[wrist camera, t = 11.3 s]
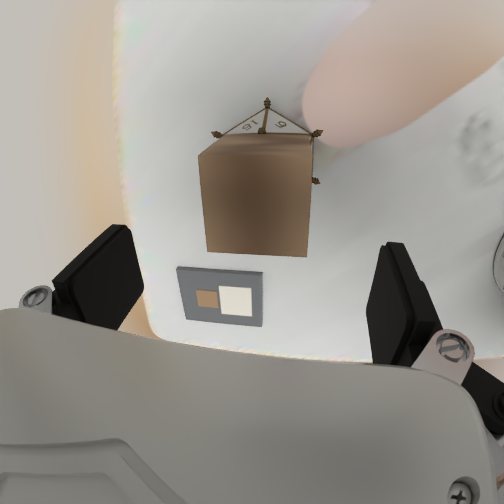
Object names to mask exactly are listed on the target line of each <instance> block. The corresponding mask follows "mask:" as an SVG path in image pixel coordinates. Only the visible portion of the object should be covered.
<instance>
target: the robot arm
mask: <svg viewBox="0 0 504 504" xmlns="http://www.w3.org/2000/svg"><path fill="white" fill-rule="evenodd" d="M493 269H494V278H495V281H496V283H497V285H498V286H499V288H500V289H501V291H502V292H504V237H503V239H502V241H501V243H500V245H499V247H498V250H497V252H496V256H495V260H494V268H493ZM52 282H53V285H54V287H55V290H54V291H53V292H52V290H51V288H50V287H48V286H37V287H34V288H32V289H30V290H29V291H27V292H26V293H25V294H24V295H23V297H22V298H21V299H20V302H19V308H11V309H4V310H0V504H504V383H503V382H501V381H500V380H498V379H497V378H495V377H494V376H492V375H491V374H490V373H488V372H487V371H485V370H484V369H482V368H481V367H479V366H478V365H476V364H475V363H474V362H472V361H473V358H474V354H475V353H474V347H473V345H472V343H471V342H470V340H469V339H468V338H467V337H466V336H464V335H463V334H462V333H460V332H457V331H455V330H450V329H444V330H443V328H442V325H441V323H440V320H439V317H438V315H437V312H436V310H435V307H434V305H433V302H432V300H431V298H430V295H429V293H428V290H427V288H426V286H425V284H424V282H423V281H420V279H419V276H418V274H417V272H416V270H415V267H414V265H413V263H412V261H411V259H410V256H409V254H408V252H407V250H406V248H405V246H404V244H403V243H396V242H387V243H386V246H383V245H382V246H381V248H380V252H379V257H378V262H377V266H376V270H375V275H374V279H373V283H372V287H371V291H370V295H369V299H368V303H367V307H366V317H367V323H368V330H369V337H370V344H371V351H372V359H373V364H368V363H354V362H337V361H321V360H307V359H296V358H285V357H275V356H266V355H257V354H249V353H241V352H234V351H227V350H220V349H213V348H206V347H200V346H194V345H188V344H182V343H176V342H171V341H165V340H160V339H155V338H150V337H145V336H140V335H135V334H131V333H126V332H121V331H117V330H118V328H119V327H120V325H121V323H122V322H123V320H124V319H125V318H126V316H127V315H128V313H129V312H130V310H131V309H132V307H133V306H134V304H135V303H136V301H137V300H138V298H139V297H140V296H141V294H142V293H143V290H144V283H143V279H142V275H141V271H140V267H139V263H138V259H137V255H136V251H135V246H134V242H133V237H132V233H131V230H130V229H128V227H127V226H126V225H116V224H112V225H111V226H110V227H109V228H107V229H106V230H105V231H104V232H103V233H102V234H101V235H99V236H98V237H97V238H96V239H95V240H94V241H93V242H92V243H91V244H89V245H88V247H86V248H85V249H84V250H83V251H82V252H81V253H80V254H79V255H78V256H77V257H76V258H75V259H73V261H71V262H70V263H69V264H68V265H67V266H66V267H65V268H64V269H63V270H62V271H61V272H60V273H59V274H58V275H57V276H56V277H55V278H54V279H53V280H52Z"/></svg>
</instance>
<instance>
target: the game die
mask: <svg viewBox="0 0 504 504" xmlns="http://www.w3.org/2000/svg"><path fill="white" fill-rule="evenodd" d="M270 102H271V101H270V100H269V99H268V98H266V100H265V101H264V105H265V109H263V110H261V111H260V112H258V113H256V114H255V115H253V116H251V117H250V118H248V119H247V120H245V121H243V122H242V123H240V124H239V125H237V126H235V127H234V128H232V129H231V130H229V131H228V132H226V133H225V134H286V135H309V140H310V145H311V151H312V156H313V142H314V137H318V136H320V135H321V133H322V132H323V130H316V131H314V132H313V133H310V132H309V131H307V130H305V129H304V128H302V127H301V126H299V125H297V124H296V123H294V122H292V121H291V120H289V119H287V118H286V117H284V116H282V115H281V114H279V113H277V112H276V111H274V110H272V109H270V105H271V104H270ZM211 133H212V134H213V136H214V137H216V138H221V137H222V136H224V135H225V134H223V135H222V134H221V133H220V132H217V131H215V132H211ZM312 172H313V161H312ZM312 183H314V184H320V182H319V180H318V179H316V177H315V178H313V177H312Z"/></svg>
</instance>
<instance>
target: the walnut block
mask: <svg viewBox="0 0 504 504" xmlns="http://www.w3.org/2000/svg"><path fill="white" fill-rule="evenodd" d="M312 161H313V156H312V151H311V145H310V140H309V135H286V134H225V135H224V136H222V137H221V138H220V139H218V140H217V141H216V142H215V143H213V144H212V145H211V146H209V147H208V148H207V149H206V150H204V151H203V152H202V153H201V154H199V155H198V163H199V174H200V185H201V196H202V206H203V216H204V225H205V235H206V243H207V252H217V253H236V254H254V255H273V256H292V257H307V247H308V234H309V219H310V203H311V184H312Z"/></svg>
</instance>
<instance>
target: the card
mask: <svg viewBox="0 0 504 504" xmlns="http://www.w3.org/2000/svg"><path fill="white" fill-rule="evenodd" d="M176 271H177V277H178V282H179V287H180V292H181V297H182V302H183V307H184V311H185V316H186V319H188V320H196V321H205V322H214V323H224V324H234V325H245V326H256V327H262V273H261V272H246V271H231V270H216V269H202V268H189V267H177V269H176Z"/></svg>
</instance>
